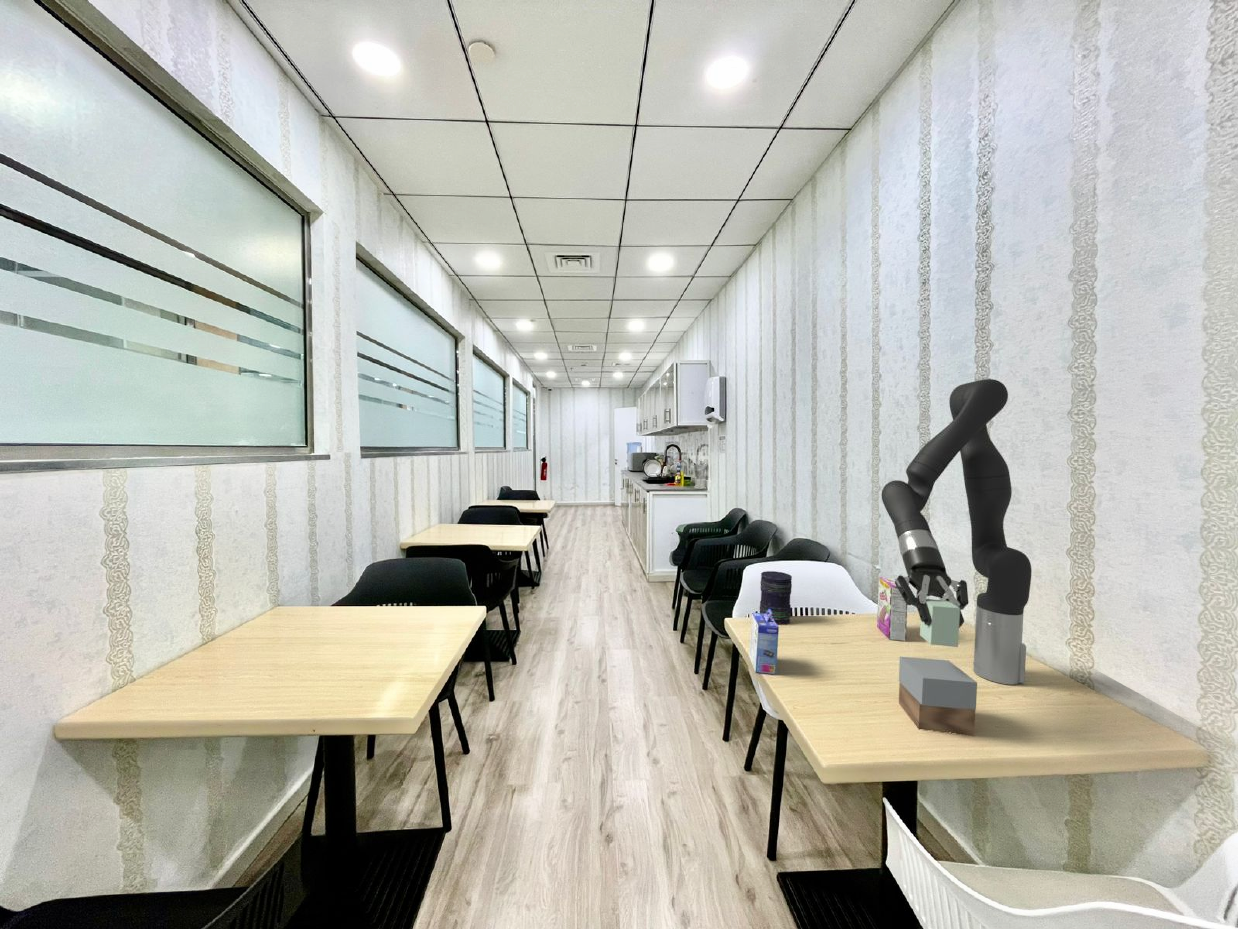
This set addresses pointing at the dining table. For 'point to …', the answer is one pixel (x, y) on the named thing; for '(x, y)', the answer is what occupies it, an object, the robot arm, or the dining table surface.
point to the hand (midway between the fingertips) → (943, 624)
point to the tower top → (937, 683)
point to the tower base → (937, 715)
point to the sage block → (941, 623)
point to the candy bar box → (891, 610)
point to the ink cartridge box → (764, 643)
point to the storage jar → (776, 595)
